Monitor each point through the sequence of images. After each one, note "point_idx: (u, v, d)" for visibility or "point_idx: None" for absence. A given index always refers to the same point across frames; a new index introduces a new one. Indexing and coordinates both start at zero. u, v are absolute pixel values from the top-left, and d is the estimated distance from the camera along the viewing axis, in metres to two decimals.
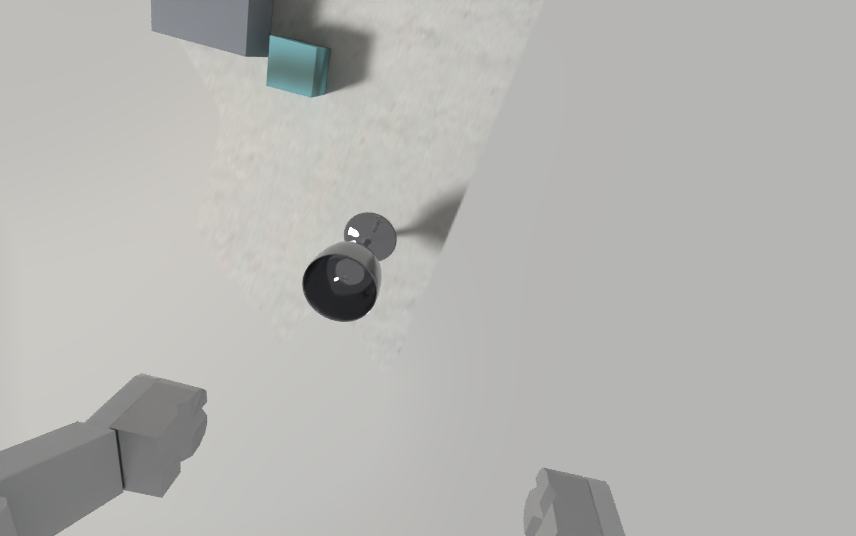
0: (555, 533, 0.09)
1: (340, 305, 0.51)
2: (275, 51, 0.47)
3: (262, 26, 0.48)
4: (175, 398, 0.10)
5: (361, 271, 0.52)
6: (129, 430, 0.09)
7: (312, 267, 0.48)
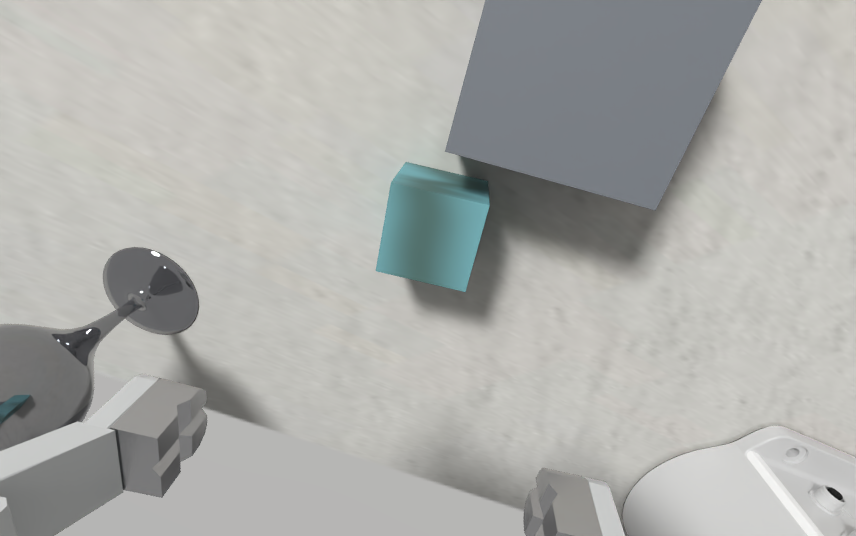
0: (555, 533, 0.09)
1: None
2: (458, 212, 0.22)
3: None
4: (175, 398, 0.10)
5: None
6: (129, 430, 0.09)
7: None
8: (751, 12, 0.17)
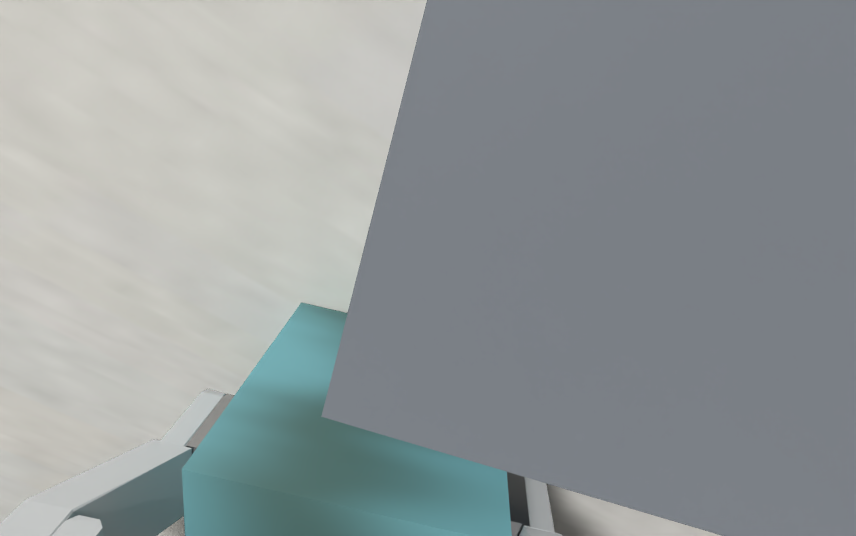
0: None
1: None
2: None
3: None
4: None
5: None
6: None
7: None
8: None
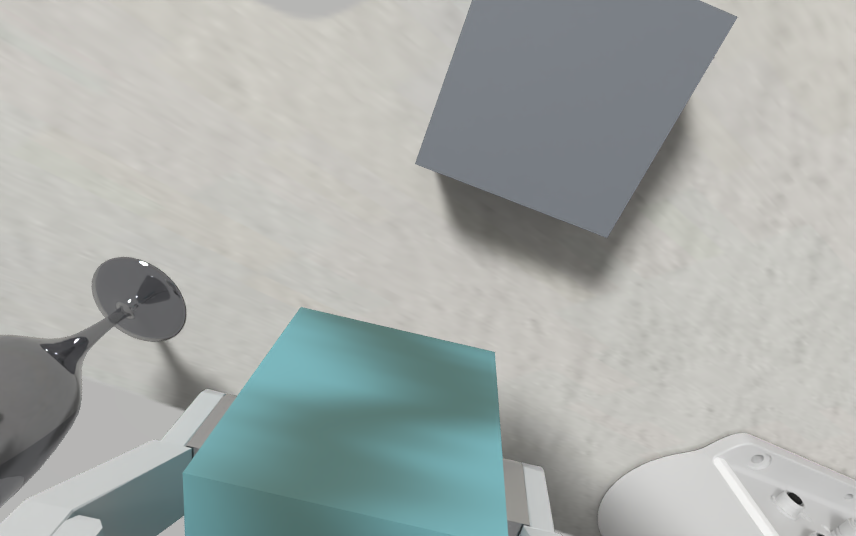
0: None
1: None
2: None
3: None
4: None
5: None
6: None
7: None
8: (704, 66, 0.18)
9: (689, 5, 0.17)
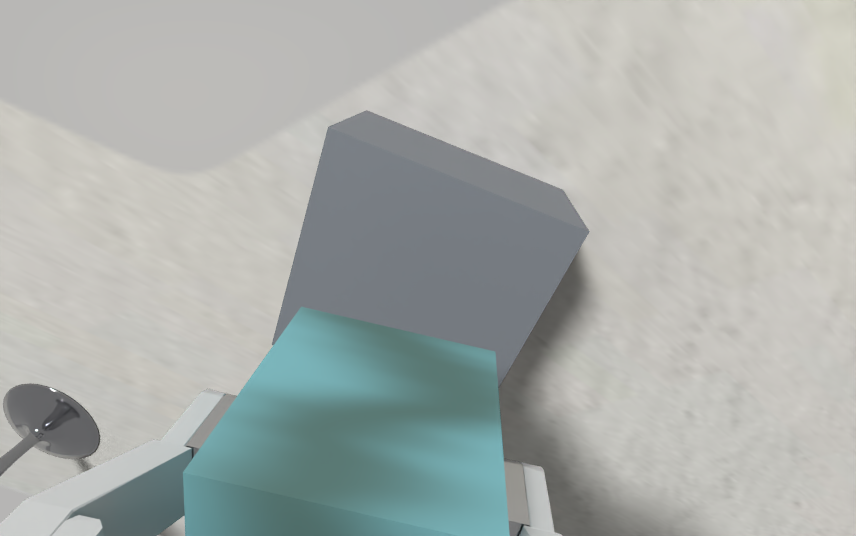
0: None
1: None
2: None
3: None
4: None
5: None
6: None
7: None
8: (560, 274, 0.17)
9: (536, 218, 0.16)
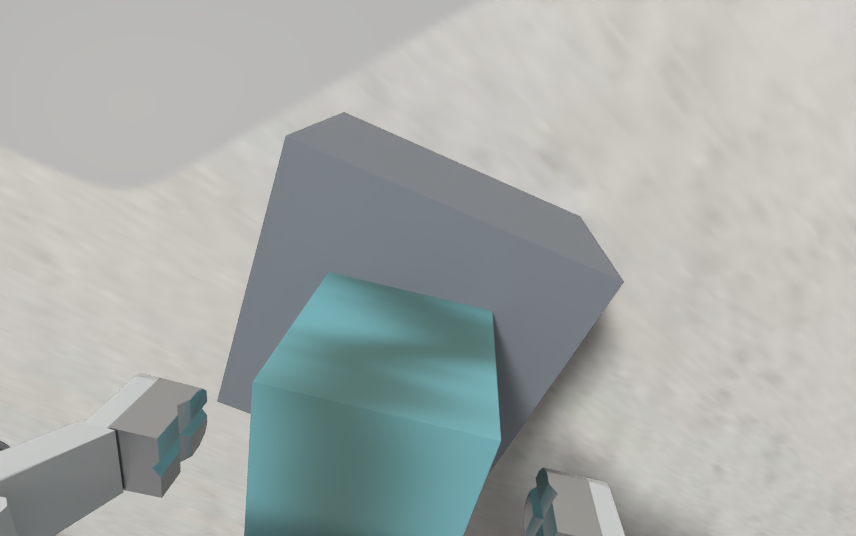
0: (555, 533, 0.09)
1: None
2: (422, 449, 0.09)
3: None
4: (175, 398, 0.10)
5: None
6: (129, 430, 0.09)
7: None
8: (582, 332, 0.13)
9: (557, 263, 0.12)
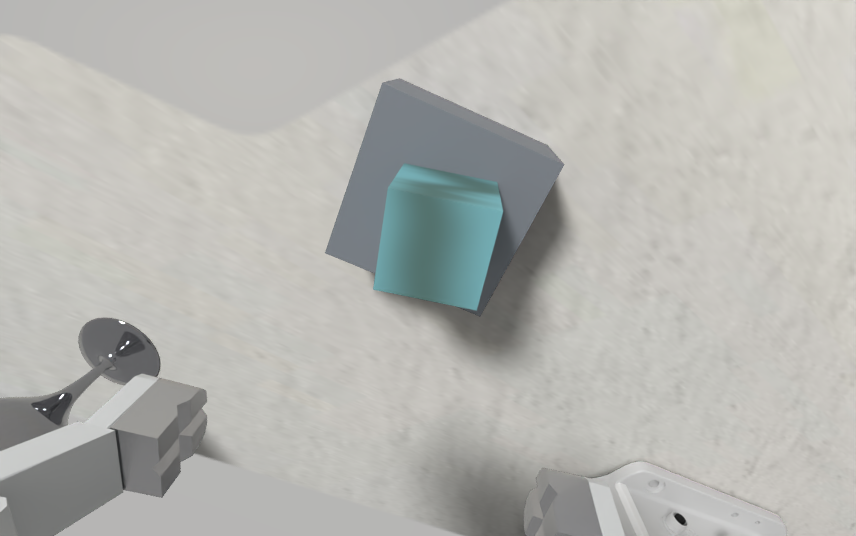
0: (555, 533, 0.09)
1: None
2: (466, 220, 0.19)
3: None
4: (175, 398, 0.10)
5: None
6: (129, 430, 0.09)
7: None
8: (543, 196, 0.23)
9: (527, 154, 0.23)
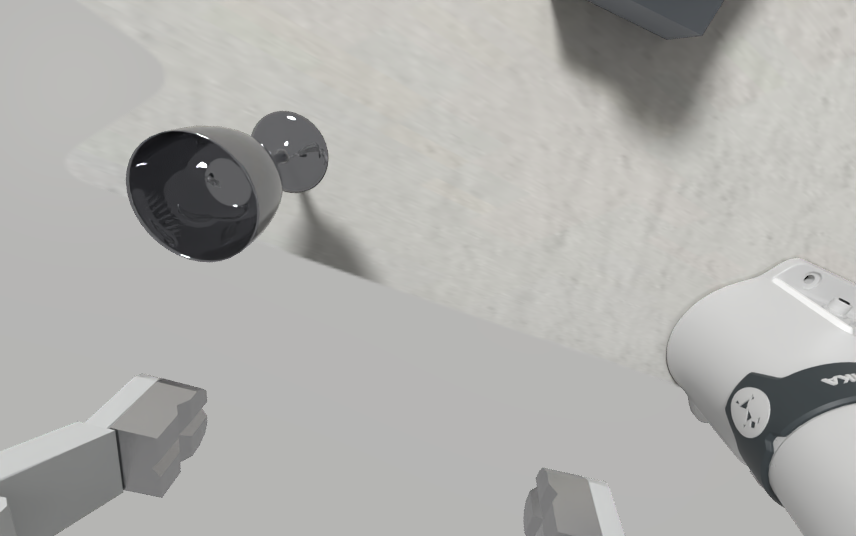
0: (555, 533, 0.09)
1: (159, 171, 0.29)
2: None
3: None
4: (175, 398, 0.10)
5: (233, 187, 0.32)
6: (129, 430, 0.09)
7: None
8: None
9: None
